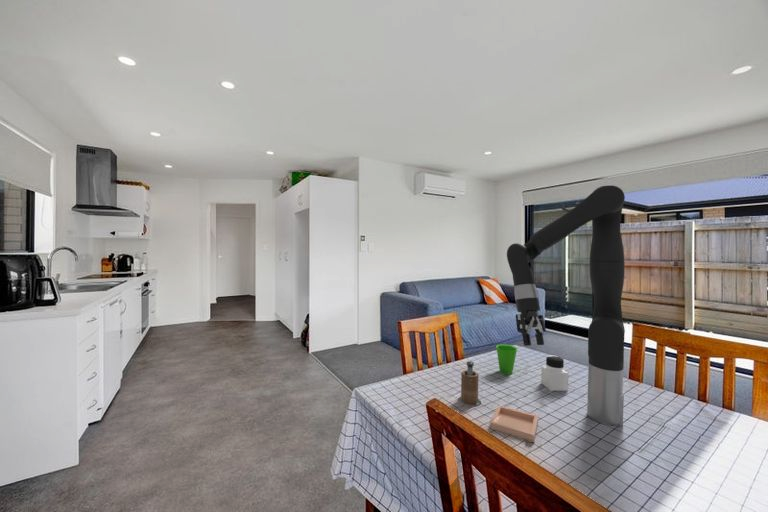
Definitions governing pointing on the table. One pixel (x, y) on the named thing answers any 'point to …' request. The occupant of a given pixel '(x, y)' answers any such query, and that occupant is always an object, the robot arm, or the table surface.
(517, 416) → the tray
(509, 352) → the cup
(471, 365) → the paper towel holder
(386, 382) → the table surface
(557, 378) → the medicine bottle
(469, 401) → the octagonal pencil holder
